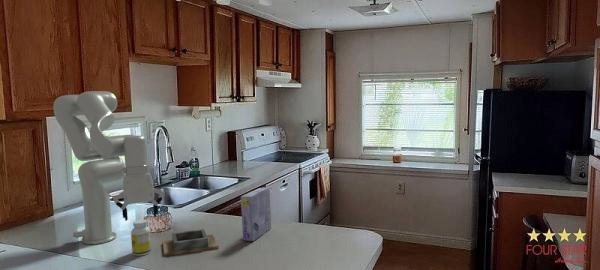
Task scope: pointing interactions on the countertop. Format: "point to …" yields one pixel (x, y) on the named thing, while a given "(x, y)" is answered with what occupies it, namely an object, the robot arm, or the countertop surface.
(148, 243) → the pill bottle
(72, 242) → the countertop surface
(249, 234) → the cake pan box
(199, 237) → the collar board
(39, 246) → the countertop surface
